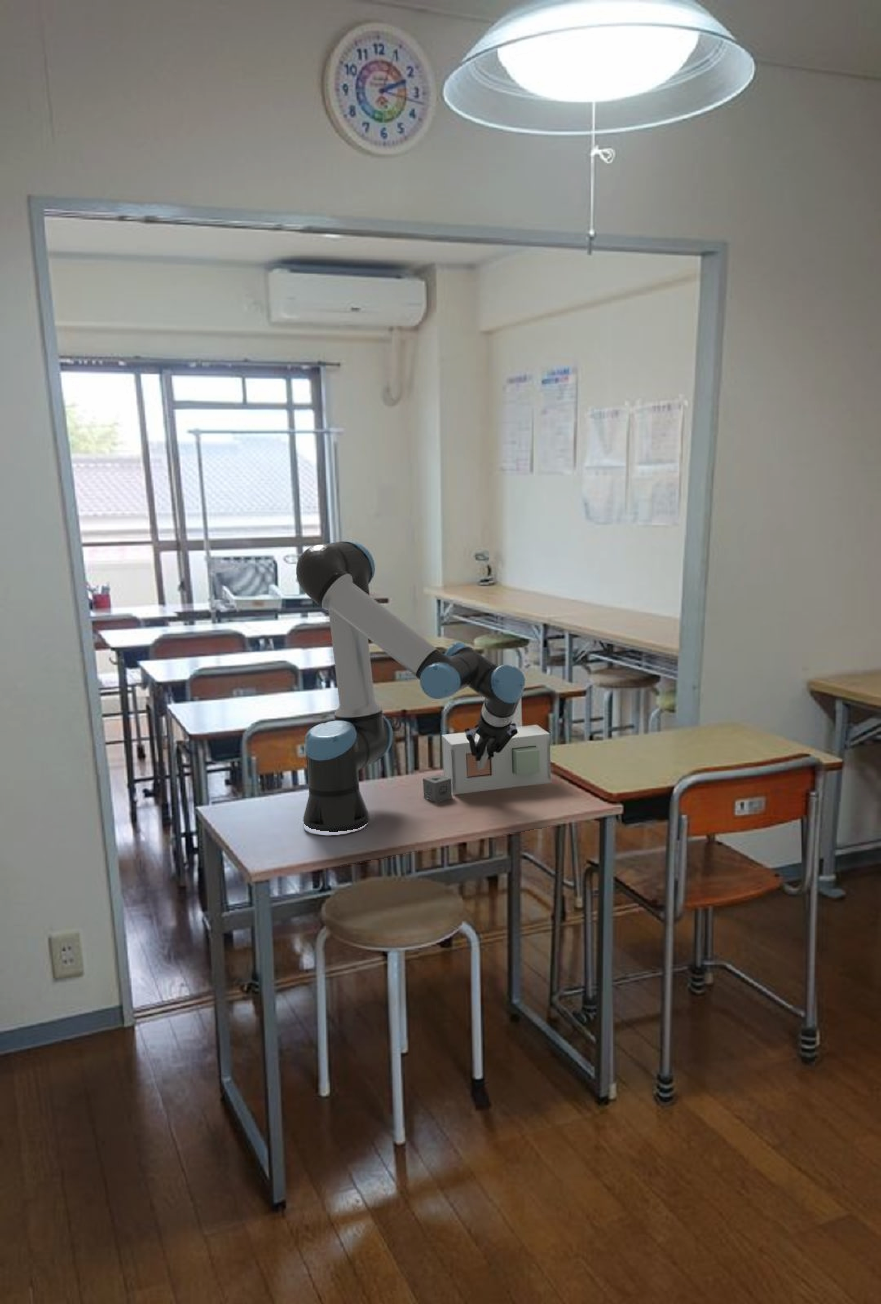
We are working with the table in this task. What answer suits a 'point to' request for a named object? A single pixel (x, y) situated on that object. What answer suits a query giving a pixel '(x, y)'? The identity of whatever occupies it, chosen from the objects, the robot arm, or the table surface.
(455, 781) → the box
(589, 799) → the table surface
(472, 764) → the terracotta button
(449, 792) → the dice cube
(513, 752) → the sage button
